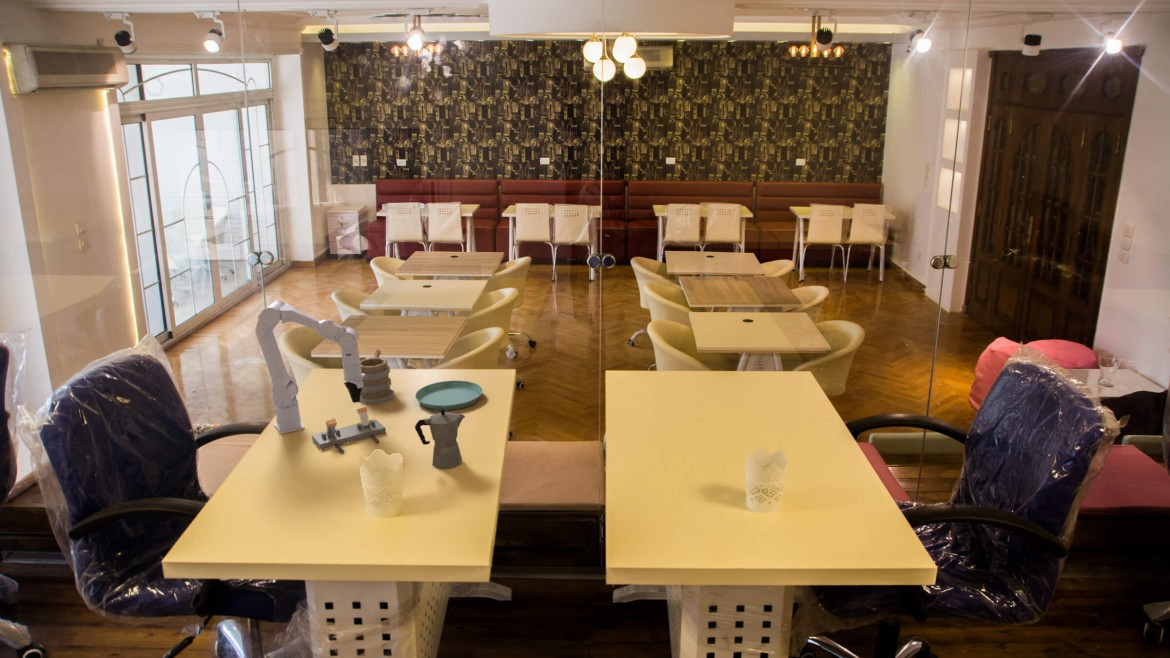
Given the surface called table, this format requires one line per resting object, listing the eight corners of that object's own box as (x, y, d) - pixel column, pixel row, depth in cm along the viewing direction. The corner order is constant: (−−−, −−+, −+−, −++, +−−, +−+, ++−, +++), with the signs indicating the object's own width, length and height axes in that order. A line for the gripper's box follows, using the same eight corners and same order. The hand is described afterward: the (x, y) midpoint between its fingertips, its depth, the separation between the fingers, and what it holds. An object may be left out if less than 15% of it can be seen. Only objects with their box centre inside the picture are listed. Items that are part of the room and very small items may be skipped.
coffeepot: (464, 453, 283) (460, 400, 278) (471, 465, 274) (467, 410, 269) (416, 462, 278) (410, 408, 273) (421, 474, 270) (416, 419, 264)
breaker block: (312, 440, 296) (311, 430, 295) (376, 424, 307) (375, 414, 306) (327, 457, 284) (326, 446, 282) (393, 439, 295) (392, 429, 294)
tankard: (389, 403, 326) (385, 364, 321) (354, 404, 326) (350, 365, 321) (400, 384, 345) (396, 347, 340) (368, 385, 345) (363, 348, 341)
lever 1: (325, 434, 295) (325, 420, 291) (334, 432, 296) (334, 418, 292) (327, 438, 294) (327, 424, 289) (336, 435, 295) (336, 422, 291)
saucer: (406, 412, 318) (405, 403, 317) (428, 387, 341) (428, 379, 340) (472, 414, 314) (471, 405, 313) (490, 389, 337) (489, 381, 336)
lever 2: (361, 428, 300) (356, 409, 301) (370, 426, 302) (365, 407, 303) (362, 427, 299) (357, 409, 300) (371, 425, 300) (366, 406, 301)
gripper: (370, 367, 297) (374, 405, 301) (355, 356, 309) (360, 392, 313) (349, 371, 294) (354, 410, 298) (335, 360, 305) (340, 397, 310)
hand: (356, 401), depth 305 cm, fingers closed
